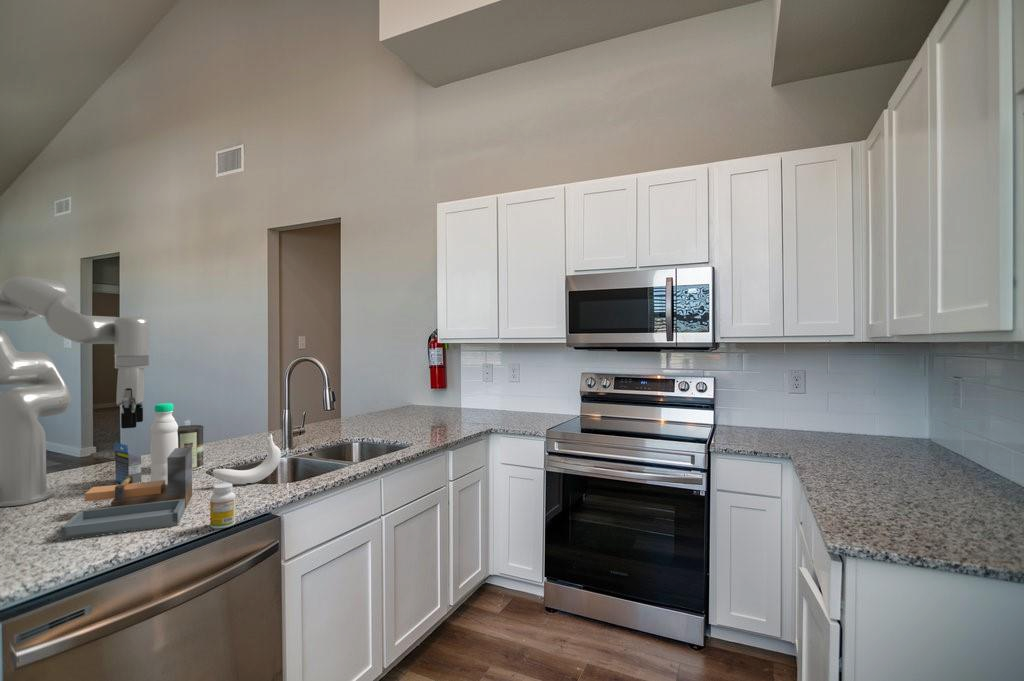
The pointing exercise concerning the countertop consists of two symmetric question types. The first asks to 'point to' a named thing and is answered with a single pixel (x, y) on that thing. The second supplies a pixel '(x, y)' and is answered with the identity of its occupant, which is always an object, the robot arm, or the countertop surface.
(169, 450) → the water bottle
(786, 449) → the countertop surface
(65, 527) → the tray
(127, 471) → the label tape cartridge
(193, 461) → the coffee can
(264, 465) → the banana
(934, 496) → the countertop surface
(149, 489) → the orange rectangular block
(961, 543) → the countertop surface
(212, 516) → the supplement bottle
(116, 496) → the dispenser
